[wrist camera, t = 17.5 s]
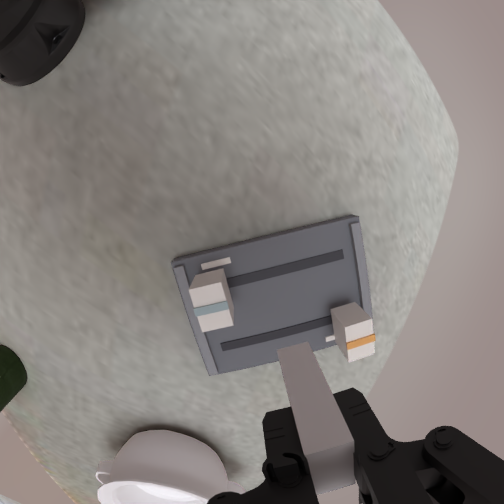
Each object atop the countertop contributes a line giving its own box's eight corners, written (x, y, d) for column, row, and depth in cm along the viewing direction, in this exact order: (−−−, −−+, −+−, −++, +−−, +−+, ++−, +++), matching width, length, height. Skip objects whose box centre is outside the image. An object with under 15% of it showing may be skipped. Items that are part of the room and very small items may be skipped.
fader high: (207, 308, 31) (201, 333, 25) (196, 272, 30) (187, 291, 25) (234, 301, 31) (234, 326, 25) (224, 265, 30) (221, 282, 25)
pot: (254, 430, 38) (260, 496, 26) (236, 490, 41) (238, 544, 29) (103, 402, 36) (73, 460, 24) (114, 469, 39) (97, 518, 27)
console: (210, 366, 35) (208, 379, 33) (174, 258, 33) (169, 264, 30) (367, 325, 35) (376, 335, 33) (351, 214, 33) (361, 216, 30)
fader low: (331, 336, 33) (349, 363, 27) (326, 305, 32) (345, 328, 26) (355, 329, 33) (376, 354, 27) (351, 298, 32) (373, 319, 26)
